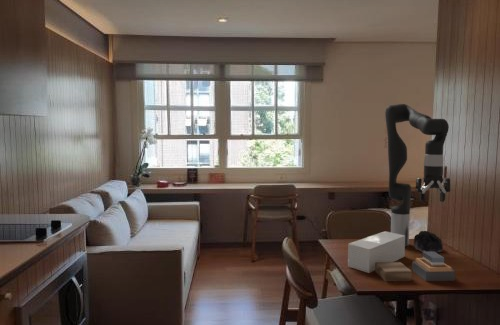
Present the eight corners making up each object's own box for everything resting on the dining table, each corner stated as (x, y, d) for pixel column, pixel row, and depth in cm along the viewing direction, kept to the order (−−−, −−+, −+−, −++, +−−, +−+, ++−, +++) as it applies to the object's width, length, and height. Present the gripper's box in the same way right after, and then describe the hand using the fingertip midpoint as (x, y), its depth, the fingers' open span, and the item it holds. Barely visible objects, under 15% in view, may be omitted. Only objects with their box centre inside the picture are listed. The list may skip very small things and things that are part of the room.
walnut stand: (375, 271, 162) (375, 262, 162) (400, 270, 163) (400, 262, 162) (385, 281, 151) (385, 271, 151) (411, 280, 152) (412, 271, 151)
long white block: (368, 273, 161) (369, 249, 160) (347, 266, 169) (348, 243, 168) (404, 257, 182) (405, 235, 181) (384, 251, 190) (384, 231, 189)
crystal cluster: (445, 256, 184) (447, 236, 183) (415, 251, 188) (417, 232, 187) (439, 250, 197) (442, 231, 196) (411, 246, 201) (414, 227, 200)
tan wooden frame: (412, 270, 163) (412, 258, 163) (438, 269, 164) (439, 257, 163) (425, 281, 151) (426, 268, 151) (454, 280, 152) (455, 267, 151)
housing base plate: (431, 269, 153) (432, 262, 153) (422, 262, 161) (422, 256, 161) (443, 269, 153) (444, 262, 153) (433, 262, 161) (433, 256, 161)
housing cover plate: (432, 262, 153) (432, 257, 153) (422, 256, 161) (422, 251, 161) (444, 262, 153) (444, 257, 153) (434, 256, 161) (434, 251, 161)
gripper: (421, 165, 158) (420, 203, 159) (454, 165, 158) (453, 203, 160) (413, 164, 165) (412, 200, 167) (444, 164, 166) (443, 199, 167)
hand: (432, 201), depth 163 cm, fingers open, 8 cm apart
